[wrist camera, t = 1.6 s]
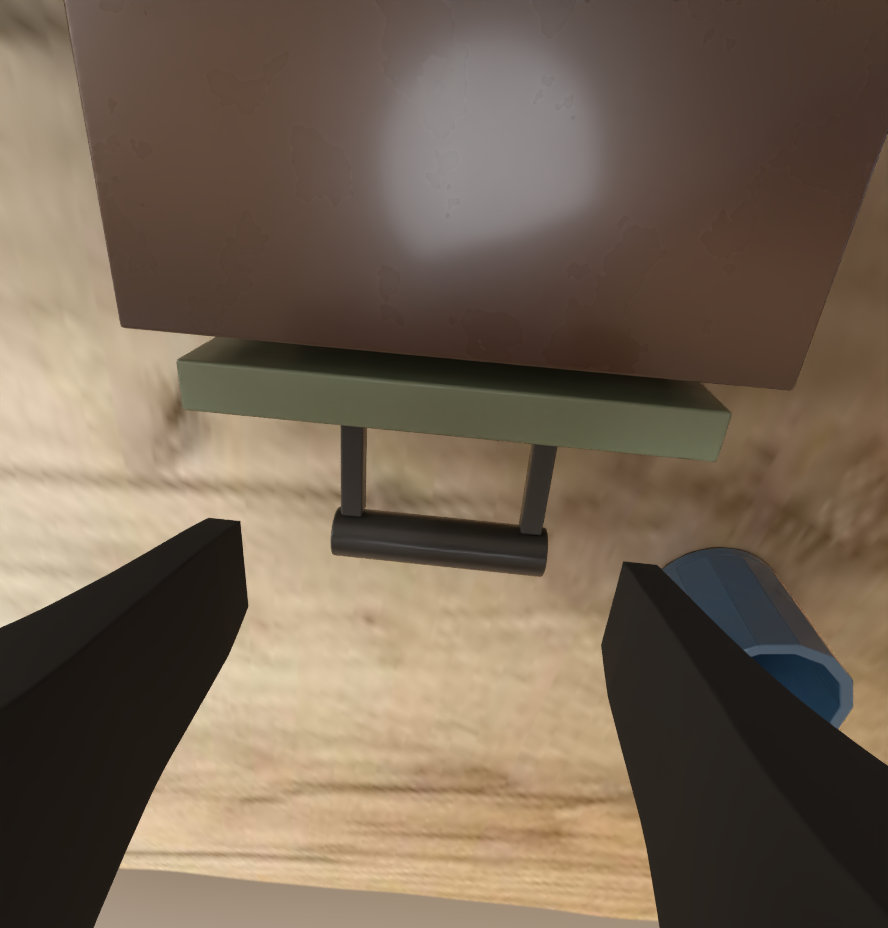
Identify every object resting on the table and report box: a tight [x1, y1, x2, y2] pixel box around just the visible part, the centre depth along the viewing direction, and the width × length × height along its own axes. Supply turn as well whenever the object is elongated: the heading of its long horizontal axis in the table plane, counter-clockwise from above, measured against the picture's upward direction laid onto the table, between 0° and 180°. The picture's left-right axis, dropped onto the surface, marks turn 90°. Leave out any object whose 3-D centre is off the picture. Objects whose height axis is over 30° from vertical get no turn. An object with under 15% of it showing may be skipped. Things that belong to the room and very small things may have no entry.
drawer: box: [177, 337, 731, 577], centre depth 14 cm, size 17×12×7 cm
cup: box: [662, 548, 853, 729], centre depth 21 cm, size 5×5×5 cm
